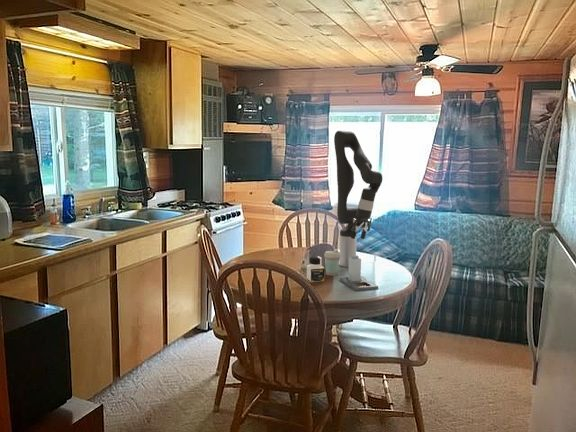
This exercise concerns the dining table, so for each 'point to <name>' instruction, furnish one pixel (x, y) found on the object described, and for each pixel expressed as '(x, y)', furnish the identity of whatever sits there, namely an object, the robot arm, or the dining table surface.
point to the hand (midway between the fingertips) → (357, 238)
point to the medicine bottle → (315, 269)
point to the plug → (354, 269)
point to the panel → (359, 284)
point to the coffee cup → (332, 262)
